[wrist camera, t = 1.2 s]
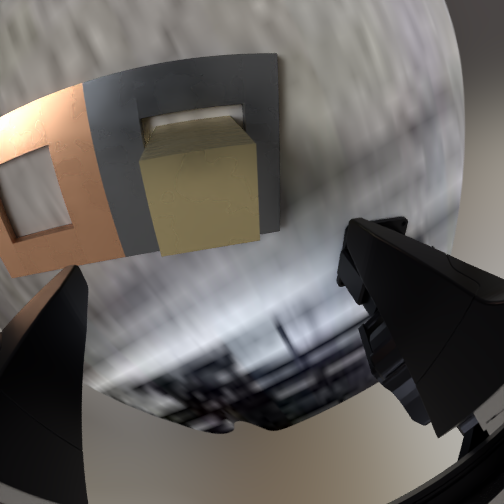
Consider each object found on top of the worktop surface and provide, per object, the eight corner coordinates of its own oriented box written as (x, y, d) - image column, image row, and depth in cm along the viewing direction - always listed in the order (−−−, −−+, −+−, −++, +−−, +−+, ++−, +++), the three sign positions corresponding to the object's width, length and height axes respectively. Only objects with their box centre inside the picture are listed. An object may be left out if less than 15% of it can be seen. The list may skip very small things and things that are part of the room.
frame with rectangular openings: (273, 54, 14) (277, 53, 13) (276, 225, 21) (279, 231, 20) (-36, 139, 11) (-42, 142, 10) (15, 272, 18) (12, 278, 17)
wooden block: (229, 115, 16) (256, 143, 10) (234, 181, 18) (259, 240, 13) (155, 126, 15) (138, 161, 10) (167, 192, 18) (161, 256, 12)
